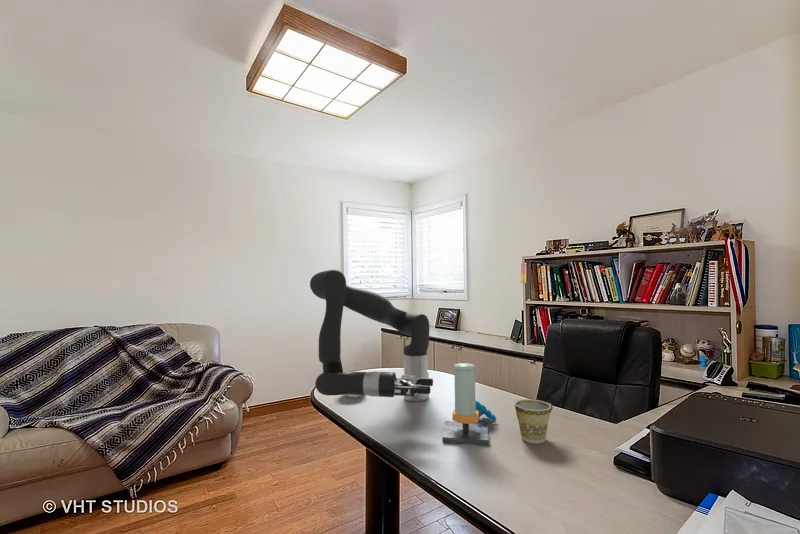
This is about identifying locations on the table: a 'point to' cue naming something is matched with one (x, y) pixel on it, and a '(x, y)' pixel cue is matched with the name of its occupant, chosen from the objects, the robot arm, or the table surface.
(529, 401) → the ceramic cup
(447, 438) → the post stand
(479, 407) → the blue toy dinosaur
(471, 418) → the collar
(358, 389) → the robot arm
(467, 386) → the pale green canister
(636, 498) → the table surface
